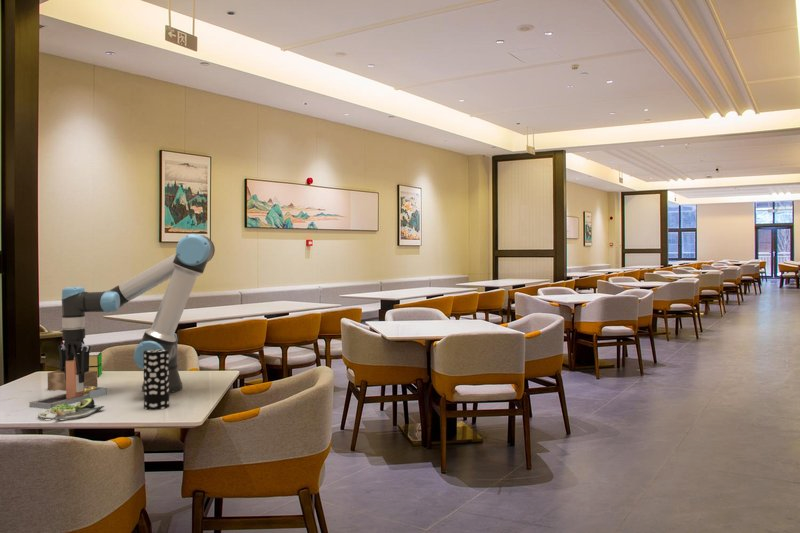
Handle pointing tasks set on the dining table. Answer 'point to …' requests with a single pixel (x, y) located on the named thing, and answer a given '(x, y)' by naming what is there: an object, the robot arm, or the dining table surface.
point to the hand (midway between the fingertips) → (74, 390)
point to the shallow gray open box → (56, 401)
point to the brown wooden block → (58, 382)
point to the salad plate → (72, 410)
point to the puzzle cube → (95, 362)
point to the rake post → (71, 380)
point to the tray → (97, 392)
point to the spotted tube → (156, 379)
